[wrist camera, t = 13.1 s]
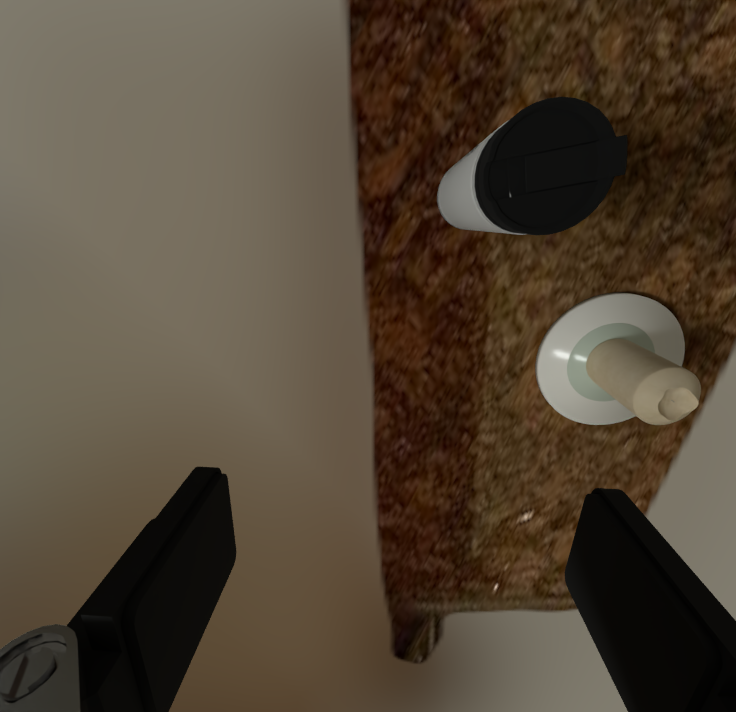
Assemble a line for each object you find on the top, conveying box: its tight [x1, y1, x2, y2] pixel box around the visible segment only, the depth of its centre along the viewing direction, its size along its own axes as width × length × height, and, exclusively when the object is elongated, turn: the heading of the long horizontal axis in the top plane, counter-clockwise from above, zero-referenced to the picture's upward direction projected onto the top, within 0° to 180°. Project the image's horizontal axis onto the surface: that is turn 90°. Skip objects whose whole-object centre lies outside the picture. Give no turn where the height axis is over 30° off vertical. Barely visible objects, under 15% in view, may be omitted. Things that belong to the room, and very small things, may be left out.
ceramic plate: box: [535, 293, 685, 425], centre depth 41 cm, size 15×15×1 cm
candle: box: [586, 338, 701, 425], centre depth 36 cm, size 6×6×10 cm
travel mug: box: [437, 97, 627, 235], centre depth 27 cm, size 6×7×20 cm
